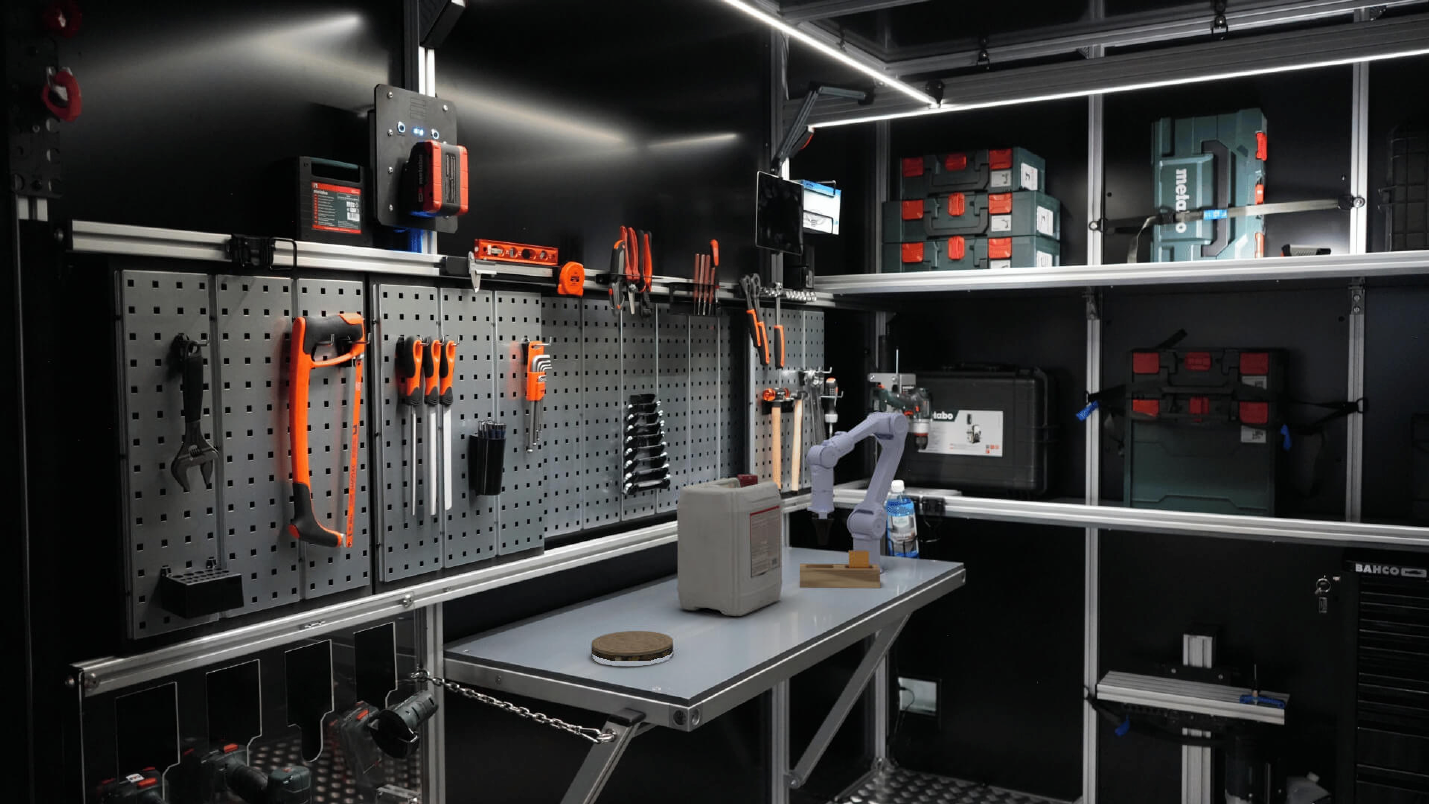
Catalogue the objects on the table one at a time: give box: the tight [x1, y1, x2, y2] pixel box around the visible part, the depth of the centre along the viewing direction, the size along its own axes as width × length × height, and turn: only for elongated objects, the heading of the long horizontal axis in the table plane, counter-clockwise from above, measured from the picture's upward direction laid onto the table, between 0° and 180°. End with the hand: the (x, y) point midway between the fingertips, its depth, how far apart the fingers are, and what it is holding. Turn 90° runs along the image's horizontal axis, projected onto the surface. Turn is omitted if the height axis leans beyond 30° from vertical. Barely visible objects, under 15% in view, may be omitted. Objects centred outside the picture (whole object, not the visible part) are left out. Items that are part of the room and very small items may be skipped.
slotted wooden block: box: [799, 563, 881, 589], centre depth 258 cm, size 8×20×4 cm, turn 85°
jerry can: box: [676, 474, 783, 617], centre depth 237 cm, size 24×19×30 cm
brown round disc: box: [591, 630, 674, 661], centre depth 197 cm, size 16×16×3 cm
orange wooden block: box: [848, 549, 869, 568], centre depth 258 cm, size 2×5×7 cm, turn 85°
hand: (822, 542), depth 267 cm, fingers open, 7 cm apart
